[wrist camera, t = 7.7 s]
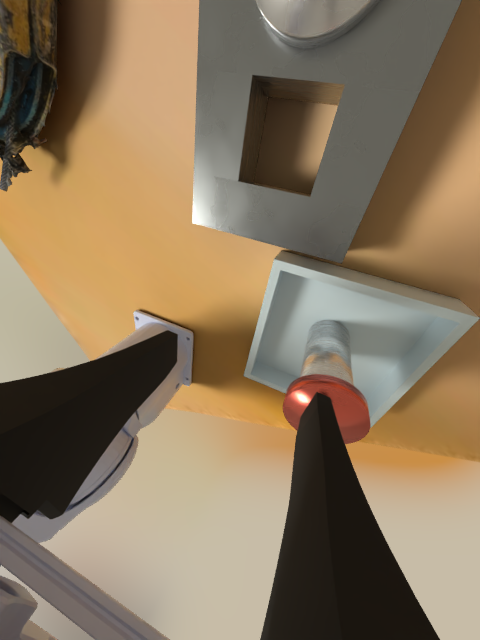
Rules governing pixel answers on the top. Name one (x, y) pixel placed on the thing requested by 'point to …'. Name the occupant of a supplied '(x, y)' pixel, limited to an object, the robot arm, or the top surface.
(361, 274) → the tray
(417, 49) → the bracket
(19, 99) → the pulley block
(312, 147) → the top surface
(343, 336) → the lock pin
